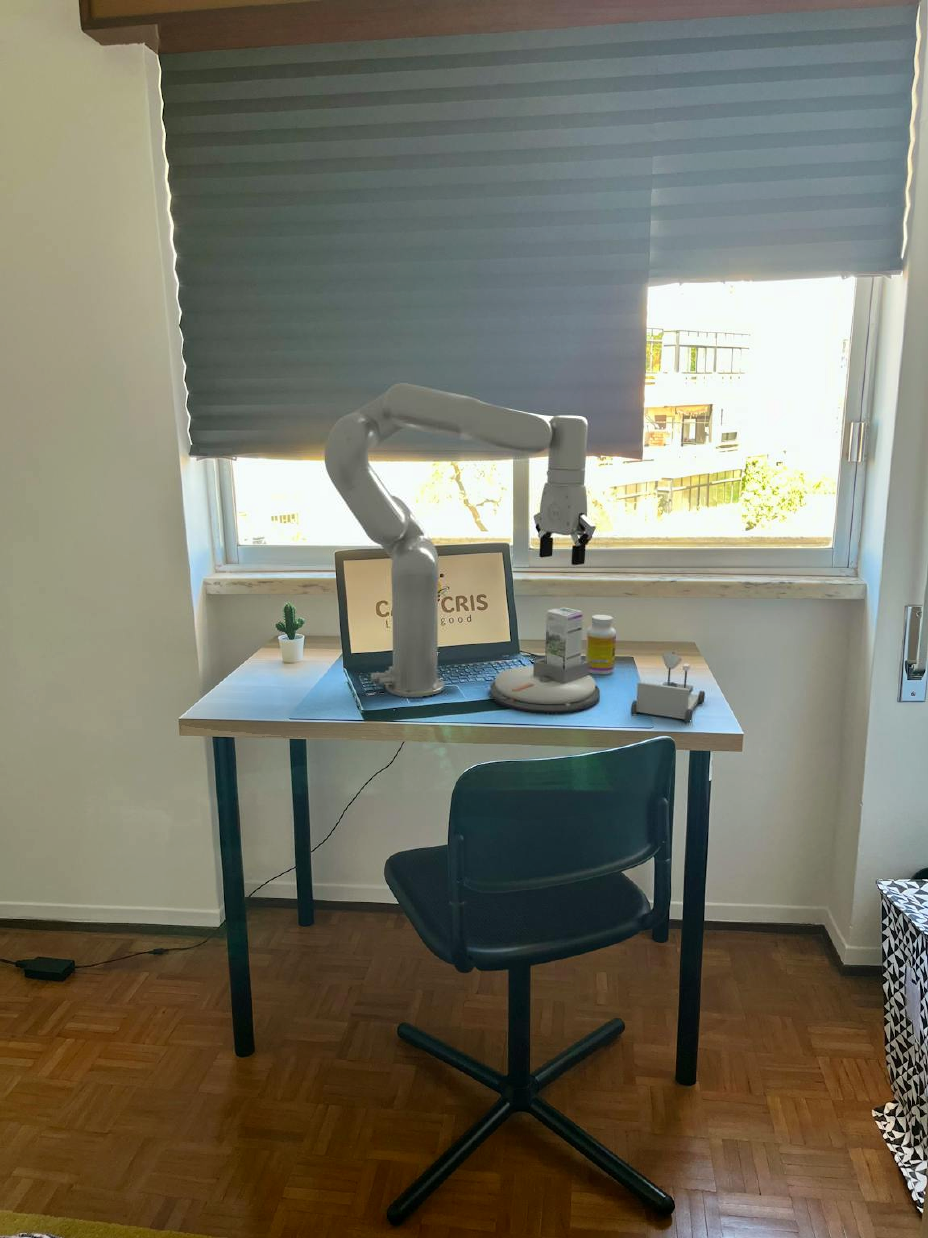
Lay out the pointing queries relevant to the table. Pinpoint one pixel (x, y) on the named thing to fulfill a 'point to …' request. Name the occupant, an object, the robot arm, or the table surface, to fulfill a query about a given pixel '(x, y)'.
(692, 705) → the toy vehicle
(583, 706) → the base
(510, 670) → the dial
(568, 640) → the syrup box
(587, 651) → the supplement bottle
